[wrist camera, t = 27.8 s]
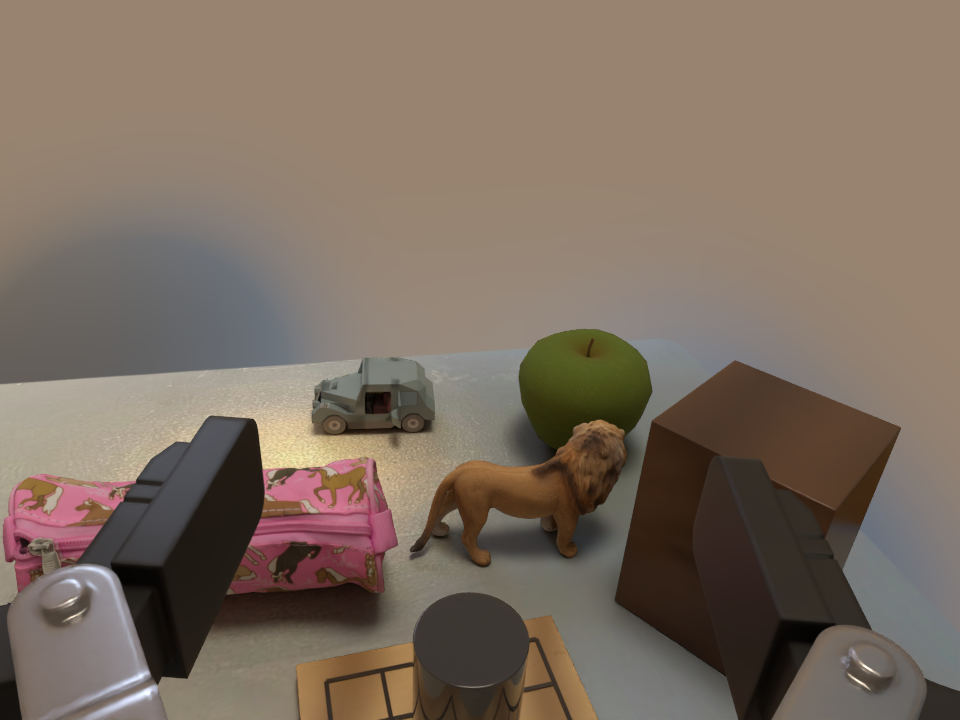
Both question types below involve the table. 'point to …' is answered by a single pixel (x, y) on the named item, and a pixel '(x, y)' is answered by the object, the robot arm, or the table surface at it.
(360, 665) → the grid board
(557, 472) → the lion figurine
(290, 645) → the table surface
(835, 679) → the robot arm
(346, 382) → the toy car
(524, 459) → the table surface
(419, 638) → the glossy dark cylinder
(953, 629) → the table surface
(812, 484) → the walnut plinth
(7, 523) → the pencil case
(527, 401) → the apple
